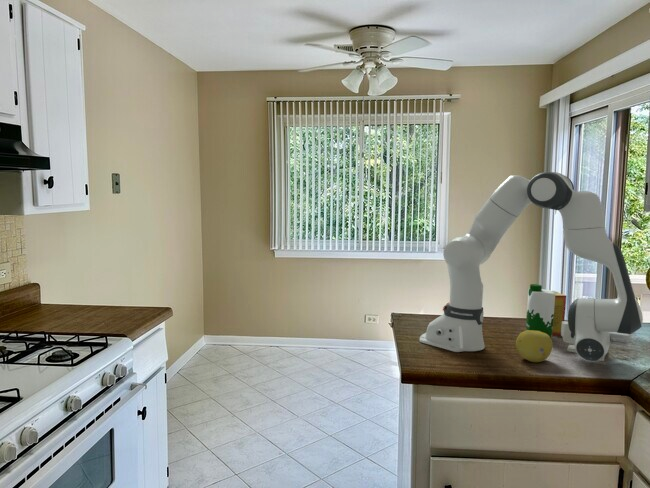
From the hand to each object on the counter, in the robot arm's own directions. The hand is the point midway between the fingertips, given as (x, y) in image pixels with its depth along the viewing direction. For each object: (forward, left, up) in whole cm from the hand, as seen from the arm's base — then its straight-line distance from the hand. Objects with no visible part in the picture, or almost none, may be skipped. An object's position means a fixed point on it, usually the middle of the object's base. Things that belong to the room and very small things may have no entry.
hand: (596, 327), depth 154 cm
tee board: (-2, -1, -9) cm, 9 cm away
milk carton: (-19, +8, -9) cm, 23 cm away
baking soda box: (-17, +19, -9) cm, 27 cm away
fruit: (-16, -21, -9) cm, 28 cm away
